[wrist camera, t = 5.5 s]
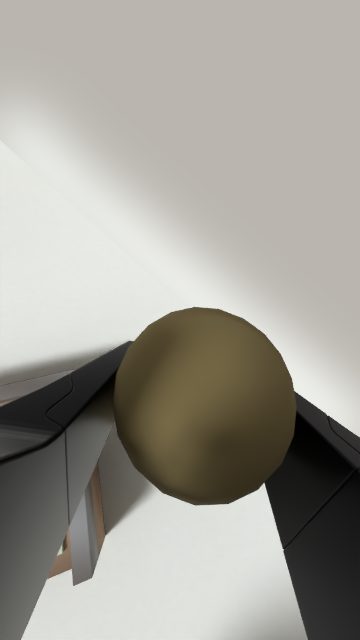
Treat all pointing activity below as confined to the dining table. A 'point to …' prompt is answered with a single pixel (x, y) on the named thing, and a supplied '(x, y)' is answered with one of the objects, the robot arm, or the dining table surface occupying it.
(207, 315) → the olive domed stopper
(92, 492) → the wooden tray
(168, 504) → the dining table surface
